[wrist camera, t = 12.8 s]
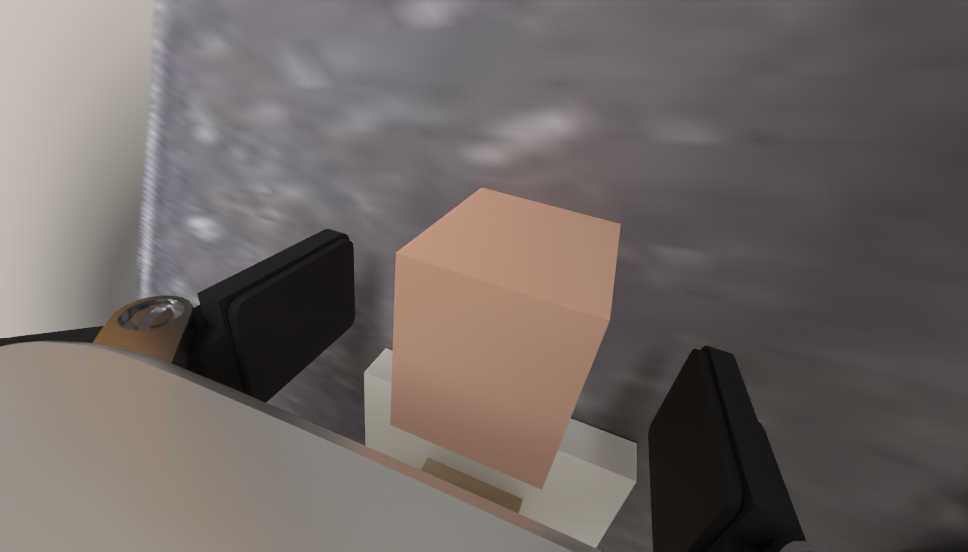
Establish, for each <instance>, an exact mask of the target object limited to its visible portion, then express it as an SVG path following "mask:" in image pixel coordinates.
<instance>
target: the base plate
mask: <svg viewBox="0 0 968 552" xmlns="http://www.w3.org/2000/svg"><path fill="white" fill-rule="evenodd" d="M392 356H393V351H392V350H390V349H387V348H385V350H384V351H383V352H382V353H381V354H380V355H379V356H378V357H377V358H376V360H375V361H374V362H373V363H372V364H371V365H370V366H369V367H368V368H367V370H366V371H365V372H364V399H365V446H366V447H369V448H371V449H373V450H376V451H378V452H380V453H383V454H385V455H387V456H389V457H392V458H394V459H396V460H398V461H401V462H403V463H405V464H408V465H410V466H412V467H414V468H417V469H419V470H421V469H422V467H423V465H424V464H425V462H426V460H427V458H430V459H432V460H435V461H437V462H439V463H441V464H444V465H446V466H448V467H451V468H453V469H455V470H457V471H460V472H462V473H464V474H467V475H469V476H471V477H473V478H476V479H478V480H480V481H483V482H485V483H487V484H489V485H492V486H494V487H496V488H499V489H501V490H503V491H505V492H508V493H510V494H512V495H515V496H517V497H519V498H521V499H523V500H522V504H521V507H520V511H519V514H521V515H523V516H525V517H527V518H530V519H532V520H534V521H536V522H539V523H541V524H543V525H545V526H548V527H550V528H552V529H554V530H557V531H559V532H561V533H563V534H566V535H568V536H570V537H572V538H574V539H577V540H579V541H581V542H583V543H585V544H587V545H590V546H592V547H594V548H596V547H597V545H598V544H599V542H600V541H601V539H602V537H603V536H604V534H605V532H606V531H607V529H608V528H609V526H610V524H611V523H612V521H613V519H614V518H615V516H616V514H617V513H618V511H619V510H620V508H621V506H622V505H623V503H624V501H625V500H626V498H627V497H628V495H629V493H630V492H631V490H632V488H633V487H634V485H635V484H636V482H637V443H635V442H632V441H629V440H627V439H624V438H621V437H619V436H616V435H613V434H611V433H608V432H606V431H603V430H600V429H598V428H595V427H592V426H590V425H587V424H584V423H582V422H579V421H577V420H574V419H570V421H569V424H568V426H567V429H566V431H565V434H564V436H563V439H562V441H561V444H560V446H559V449H558V451H557V453H556V456H555V458H554V461H553V463H552V466H551V468H550V471H549V473H548V476H547V478H546V481H545V483H544V486H543V488H542V490H541V489H539V488H536V487H534V486H532V485H529V484H527V483H525V482H522V481H520V480H518V479H515V478H513V477H511V476H508V475H506V474H504V473H501V472H499V471H497V470H494V469H492V468H490V467H487V466H485V465H483V464H480V463H478V462H476V461H473V460H471V459H469V458H466V457H464V456H462V455H459V454H457V453H455V452H452V451H450V450H448V449H445V448H443V447H441V446H438V445H436V444H434V443H431V442H429V441H427V440H424V439H422V438H420V437H417V436H415V435H413V434H410V433H408V432H406V431H403V430H401V429H399V428H396V427H394V426H392V425H390V417H391V387H392Z"/></svg>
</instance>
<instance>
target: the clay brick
mask: <svg viewBox="0 0 968 552" xmlns="http://www.w3.org/2000/svg"><path fill="white" fill-rule="evenodd" d="M620 227H621V224H619V223H615V222H611V221H607V220H604V219H600V218H596V217H592V216H588V215H585V214H581V213H577V212H573V211H569V210H566V209H562V208H558V207H554V206H550V205H546V204H543V203H539V202H535V201H531V200H527V199H524V198H520V197H516V196H512V195H508V194H504V193H501V192H497V191H493V190H489V189H485V188H482V187H481V188H480V189H479V190H477V191H476V192H475V193H474V194H472V195H471V196H470V197H468V198H467V199H466V200H464V201H463V202H462V203H460V204H459V205H458V206H456V207H455V208H454V209H453V210H451V211H450V212H449V213H447V214H446V215H445V216H443V217H442V218H441V219H439V220H438V221H437V222H435V223H434V224H433V225H432V226H430V227H429V228H428V229H426V230H425V231H424V232H422V233H421V234H420V235H418V236H417V237H416V238H414V239H413V240H412V241H411V242H409V243H408V244H407V245H405V246H404V247H403V248H401V249H400V250H399V251H397V252H396V264H395V295H394V325H393V356H392V387H391V417H390V425H392V426H394V427H396V428H399V429H401V430H403V431H406V432H408V433H410V434H413V435H415V436H417V437H420V438H422V439H424V440H427V441H429V442H431V443H434V444H436V445H438V446H441V447H443V448H445V449H448V450H450V451H452V452H455V453H457V454H459V455H462V456H464V457H466V458H469V459H471V460H473V461H476V462H478V463H480V464H483V465H485V466H487V467H490V468H492V469H494V470H497V471H499V472H501V473H504V474H506V475H508V476H511V477H513V478H515V479H518V480H520V481H522V482H525V483H527V484H529V485H532V486H534V487H536V488H539V489H541V490H542V488H543V486H544V483H545V481H546V478H547V476H548V473H549V471H550V468H551V466H552V463H553V461H554V458H555V456H556V453H557V451H558V449H559V446H560V444H561V441H562V439H563V436H564V434H565V431H566V429H567V426H568V424H569V421H570V419H571V416H572V414H573V411H574V409H575V406H576V404H577V401H578V399H579V396H580V394H581V391H582V389H583V386H584V384H585V381H586V379H587V376H588V374H589V371H590V369H591V366H592V364H593V361H594V359H595V356H596V354H597V351H598V349H599V346H600V344H601V341H602V339H603V337H604V334H605V332H606V329H607V327H608V324H609V322H610V315H611V306H612V297H613V289H614V280H615V271H616V262H617V253H618V245H619V236H620Z"/></svg>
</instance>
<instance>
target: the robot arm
mask: <svg viewBox="0 0 968 552" xmlns="http://www.w3.org/2000/svg"><path fill="white" fill-rule="evenodd" d="M197 294H198V298H199V301H200V305H199V306H197V307H195V308H193V306H192V304H191V303H190V301H189V300H187V299H185V298H183V297H178V296H166V295H162V296H154V297H148V298H144V299H140V300H136V301H134V302H132V303H129V304H127V305H125V306H123V307H121V308H120V309H118V310H116V311H115V312H114V313H113V314H112V315H111V316H110V318H109V319H108V320H107V322H106V323H105V325H104V326H99V327H92V328H83V329H75V330H67V331H58V332H51V333H42V334H35V335H26V336H18V337H11V338H0V552H602V551H600V550H598V549H596V548H594V547H592V546H590V545H587V544H585V543H583V542H581V541H579V540H577V539H574V538H572V537H570V536H568V535H566V534H563V533H561V532H559V531H557V530H554V529H552V528H550V527H548V526H545V525H543V524H541V523H539V522H536V521H534V520H532V519H530V518H527V517H525V516H523V515H521V514H518V513H516V512H514V511H512V510H509V509H507V508H505V507H503V506H500V505H498V504H496V503H494V502H491V501H489V500H487V499H485V498H482V497H480V496H478V495H476V494H473V493H471V492H469V491H467V490H464V489H462V488H460V487H458V486H455V485H453V484H451V483H449V482H446V481H444V480H442V479H440V478H437V477H435V476H433V475H430V474H428V473H426V472H424V471H421V470H419V469H417V468H414V467H412V466H410V465H408V464H405V463H403V462H401V461H398V460H396V459H394V458H392V457H389V456H387V455H385V454H383V453H380V452H378V451H376V450H373V449H371V448H369V447H366V446H364V445H362V444H360V443H357V442H355V441H353V440H350V439H348V438H346V437H344V436H341V435H339V434H337V433H334V432H332V431H330V430H328V429H325V428H323V427H321V426H318V425H316V424H314V423H311V422H309V421H307V420H304V419H302V418H300V417H297V416H295V415H293V414H290V413H288V412H286V411H284V410H281V409H279V408H277V407H274V406H272V405H270V404H267V403H266V402H267V401H268V400H269V399H271V398H272V397H273V396H274V395H275V394H276V393H277V392H278V391H279V390H281V389H282V388H283V387H284V386H285V385H286V384H287V383H288V382H290V381H291V380H292V379H293V378H294V377H295V376H296V375H297V374H299V373H300V372H301V371H302V370H303V369H304V368H305V367H306V366H307V365H309V364H310V363H311V362H312V361H313V360H314V359H315V358H316V357H318V356H319V355H320V354H321V353H322V352H323V351H324V350H325V349H327V348H328V347H329V346H330V345H331V344H332V343H333V342H334V341H335V340H337V339H338V338H339V337H340V336H341V335H342V334H343V333H344V332H346V331H347V330H348V329H349V328H350V327H351V325H352V324H353V322H354V319H355V297H354V250H353V243H352V242H351V241H350V240H349V237H348V236H347V235H346V234H343V233H340V232H337V231H334V230H330V229H326V230H323V231H321V232H319V233H317V234H315V235H313V236H311V237H309V238H307V239H305V240H303V241H301V242H299V243H297V244H295V245H293V246H291V247H289V248H287V249H285V250H283V251H281V252H279V253H277V254H275V255H273V256H271V257H269V258H267V259H265V260H263V261H261V262H259V263H257V264H255V265H253V266H251V267H249V268H247V269H245V270H243V271H241V272H239V273H237V274H235V275H233V276H231V277H229V278H227V279H225V280H223V281H221V282H219V283H217V284H215V285H213V286H211V287H209V288H207V289H205V290H203V291H201V292H199V293H197ZM648 443H649V466H650V488H651V510H652V532H653V552H831V551H829V550H828V549H826V548H824V547H822V546H820V545H817V544H814V543H811V542H808V541H806V540H805V537H804V534H803V532H802V529H801V526H800V524H799V521H798V518H797V516H796V513H795V510H794V508H793V505H792V502H791V500H790V497H789V494H788V491H787V489H786V486H785V483H784V481H783V478H782V475H781V473H780V470H779V467H778V465H777V462H776V459H775V457H774V454H773V451H772V449H771V446H770V443H769V441H768V438H767V435H766V433H765V430H764V428H763V427H762V425H761V424H760V423H759V422H758V420H757V417H756V414H755V412H754V409H753V406H752V403H751V401H750V398H749V395H748V392H747V390H746V387H745V384H744V381H743V379H742V376H741V373H740V371H739V368H738V365H737V362H736V360H735V357H734V355H733V354H731V353H728V352H725V351H722V350H719V349H715V348H712V347H709V346H704V347H703V348H702V349H701V350H698V349H693V350H692V352H691V353H690V355H689V357H688V358H687V360H686V362H685V364H684V366H683V367H682V369H681V371H680V373H679V374H678V376H677V378H676V380H675V382H674V383H673V385H672V387H671V389H670V391H669V392H668V394H667V396H666V398H665V400H664V401H663V403H662V405H661V407H660V409H659V410H658V412H657V414H656V416H655V418H654V419H653V421H652V423H651V426H650V429H649V434H648Z"/></svg>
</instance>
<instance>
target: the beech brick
mask: <svg viewBox="0 0 968 552" xmlns="http://www.w3.org/2000/svg"><path fill="white" fill-rule="evenodd" d="M421 471H424V472H426V473H428V474H430V475H433V476H435V477H437V478H440V479H442V480H444V481H446V482H449V483H451V484H453V485H455V486H458V487H460V488H462V489H464V490H467V491H469V492H471V493H473V494H476V495H478V496H480V497H482V498H485V499H487V500H489V501H491V502H494V503H496V504H498V505H500V506H503V507H505V508H507V509H509V510H512V511H514V512H516V513H518V514H519V511H520V507H521V504H522V500H523V499H521V498H519V497H517V496H515V495H512V494H510V493H508V492H505V491H503V490H501V489H499V488H496V487H494V486H492V485H489V484H487V483H485V482H483V481H480V480H478V479H476V478H473V477H471V476H469V475H467V474H464V473H462V472H460V471H457V470H455V469H453V468H451V467H448V466H446V465H444V464H441V463H439V462H437V461H435V460H432V459H430V458H427V460H426V462H425V464H424V465H423V467H422V469H421Z"/></svg>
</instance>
